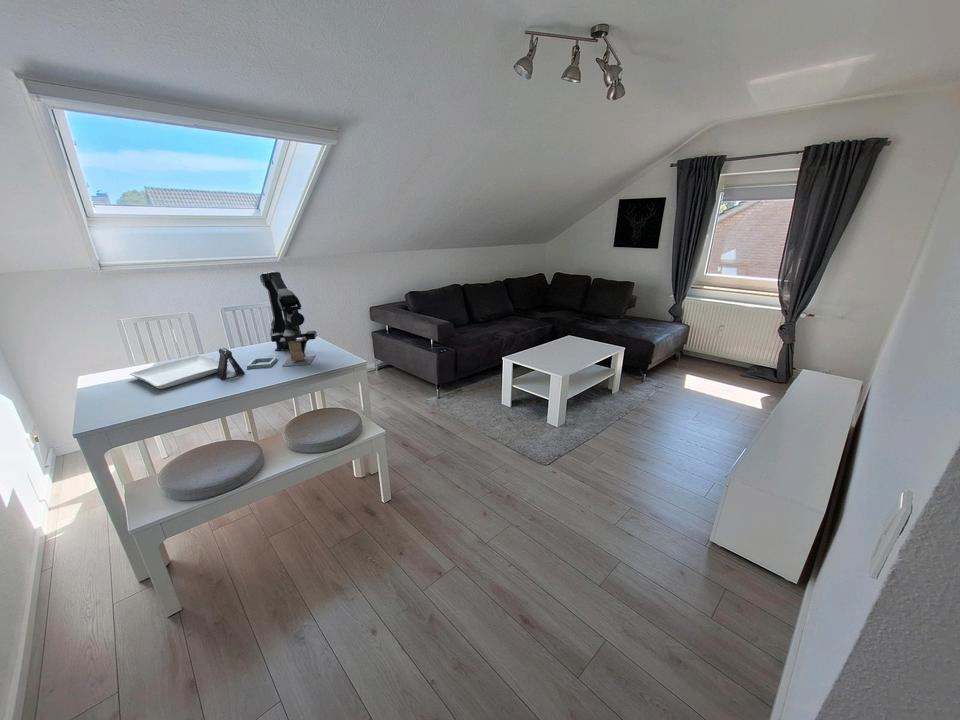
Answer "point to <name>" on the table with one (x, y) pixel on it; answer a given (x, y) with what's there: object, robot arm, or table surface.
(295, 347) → the oak block
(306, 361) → the pad
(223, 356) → the phone stand
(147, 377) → the square plate
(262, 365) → the pocket frame
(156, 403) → the table surface
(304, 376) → the table surface
